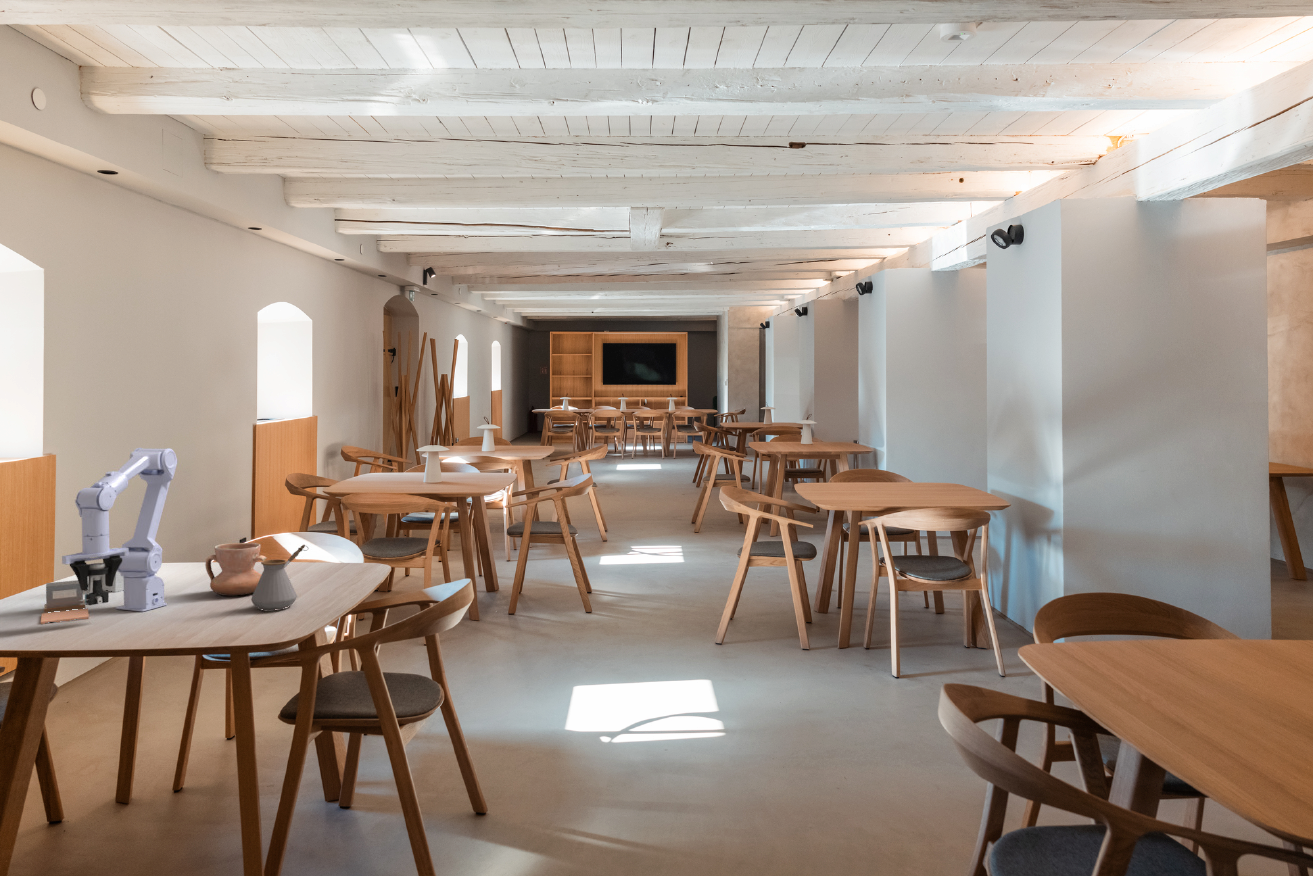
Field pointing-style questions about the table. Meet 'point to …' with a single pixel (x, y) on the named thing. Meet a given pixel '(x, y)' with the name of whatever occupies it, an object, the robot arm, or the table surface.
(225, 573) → the ceramic jug
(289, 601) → the coffee pot
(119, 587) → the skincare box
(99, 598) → the push button
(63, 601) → the wall unit
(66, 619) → the terracotta mat
